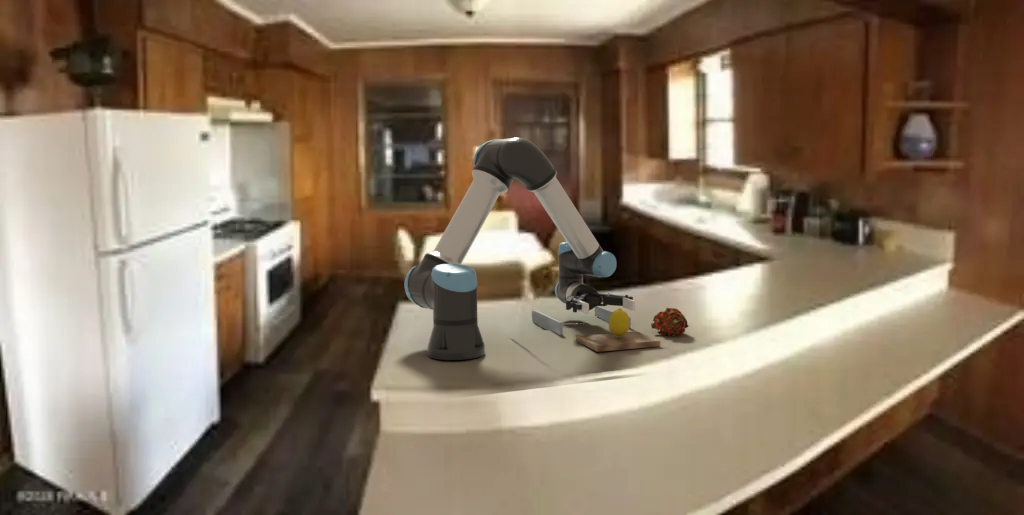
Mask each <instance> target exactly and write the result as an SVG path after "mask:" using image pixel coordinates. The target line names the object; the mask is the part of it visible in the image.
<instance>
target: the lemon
mask: <svg viewBox="0 0 1024 515" xmlns="http://www.w3.org/2000/svg"><path fill="white" fill-rule="evenodd" d="M613 311H614V312H613V313H612V314H611V315H610V318H609V323H608V328H609V331H610V332H611V333H613V334H614V335H616V337H617V338H620V337H621V336H622V335H624V334H626V333H627V332H629V329H630V328H629V326H630V320H629V317H630V316H629V314H628V313H627V312H626V311H625V310H623V309H622V308H618V309H615V310H613Z"/></svg>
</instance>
